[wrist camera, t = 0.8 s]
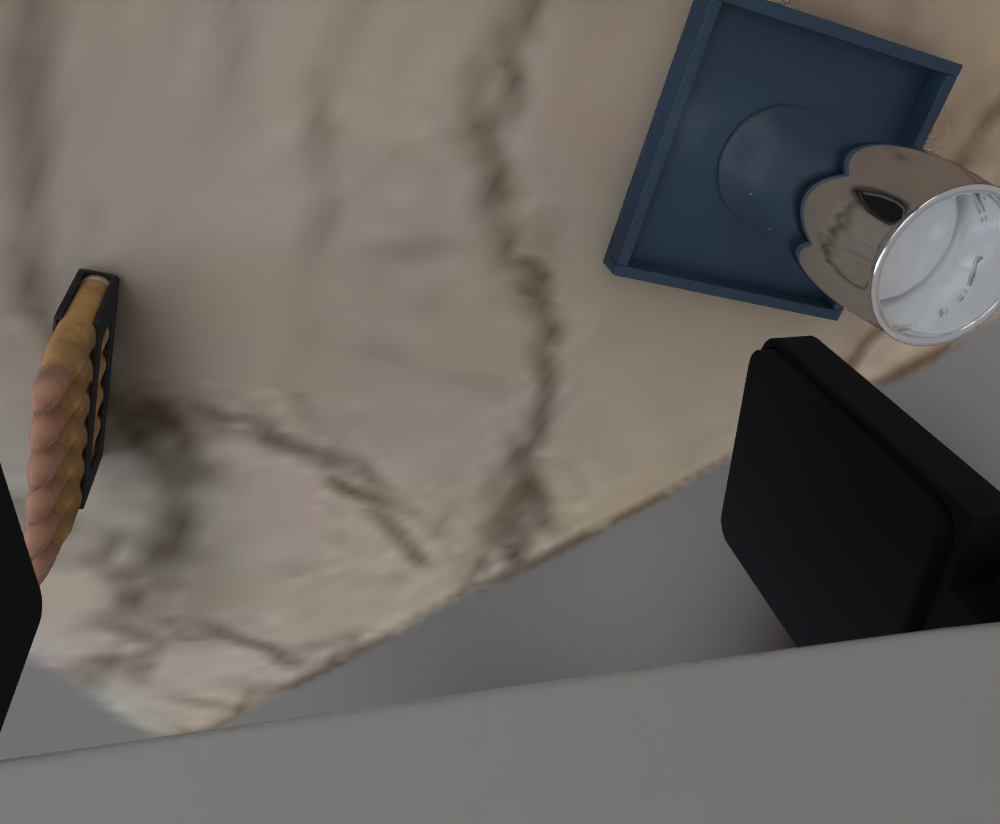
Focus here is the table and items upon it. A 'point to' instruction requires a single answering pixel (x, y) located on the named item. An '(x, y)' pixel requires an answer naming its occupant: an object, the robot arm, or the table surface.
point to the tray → (724, 107)
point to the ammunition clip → (69, 414)
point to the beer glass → (871, 222)
